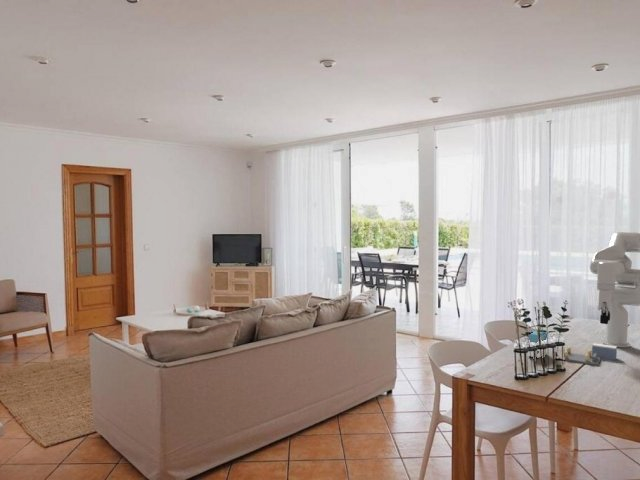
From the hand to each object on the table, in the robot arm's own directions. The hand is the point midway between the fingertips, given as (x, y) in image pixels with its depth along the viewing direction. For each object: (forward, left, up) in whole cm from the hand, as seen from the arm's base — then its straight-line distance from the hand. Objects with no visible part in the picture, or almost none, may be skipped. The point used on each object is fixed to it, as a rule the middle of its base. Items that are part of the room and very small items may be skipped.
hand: (605, 321), depth 230 cm
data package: (+16, -27, -18) cm, 36 cm away
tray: (+11, -10, -18) cm, 23 cm away
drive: (0, 0, -18) cm, 18 cm away
